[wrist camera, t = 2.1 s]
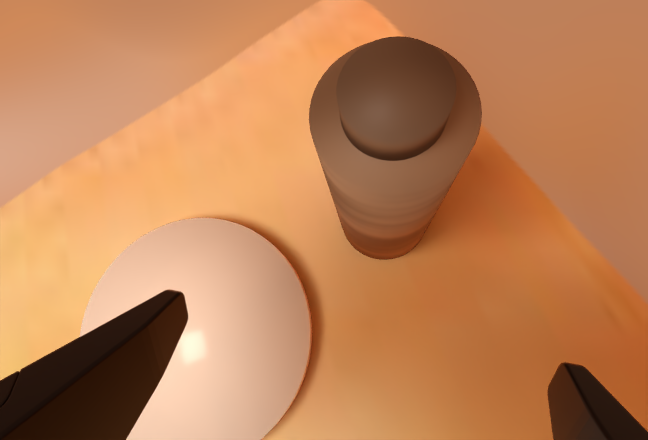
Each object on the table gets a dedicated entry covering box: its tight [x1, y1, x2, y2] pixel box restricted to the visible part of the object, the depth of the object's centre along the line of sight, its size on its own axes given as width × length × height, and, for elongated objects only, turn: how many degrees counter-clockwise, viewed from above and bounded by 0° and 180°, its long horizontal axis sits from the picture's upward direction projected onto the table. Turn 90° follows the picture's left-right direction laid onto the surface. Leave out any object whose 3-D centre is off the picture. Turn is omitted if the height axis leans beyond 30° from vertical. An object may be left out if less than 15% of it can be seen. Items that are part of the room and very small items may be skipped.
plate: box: [80, 218, 312, 440], centre depth 22 cm, size 13×13×1 cm
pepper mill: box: [309, 37, 482, 259], centre depth 16 cm, size 5×5×13 cm
